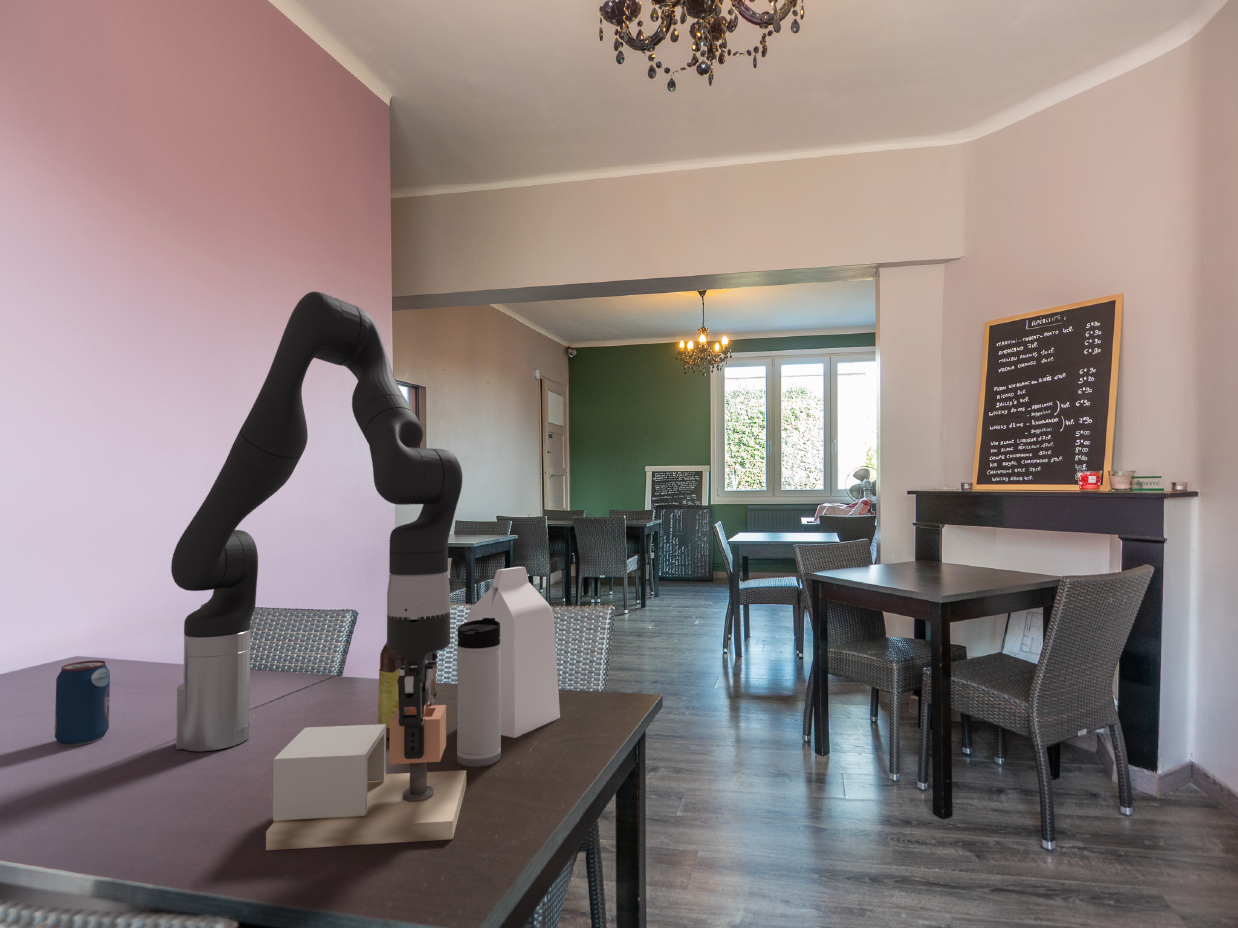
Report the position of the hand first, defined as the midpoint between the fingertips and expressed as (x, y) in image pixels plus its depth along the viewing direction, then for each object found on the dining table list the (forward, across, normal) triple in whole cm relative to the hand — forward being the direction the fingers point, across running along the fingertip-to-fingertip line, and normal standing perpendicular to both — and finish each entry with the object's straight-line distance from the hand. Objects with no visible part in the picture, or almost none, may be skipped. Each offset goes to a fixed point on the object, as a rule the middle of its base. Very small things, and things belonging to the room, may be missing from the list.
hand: (418, 747), depth 88 cm
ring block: (+1, 0, 0) cm, 1 cm away
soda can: (+8, -34, -58) cm, 68 cm away
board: (+8, 0, -5) cm, 9 cm away
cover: (+5, 0, -10) cm, 11 cm away
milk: (+8, -34, +10) cm, 36 cm away
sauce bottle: (+8, -30, -8) cm, 32 cm away
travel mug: (+8, -17, +6) cm, 20 cm away
